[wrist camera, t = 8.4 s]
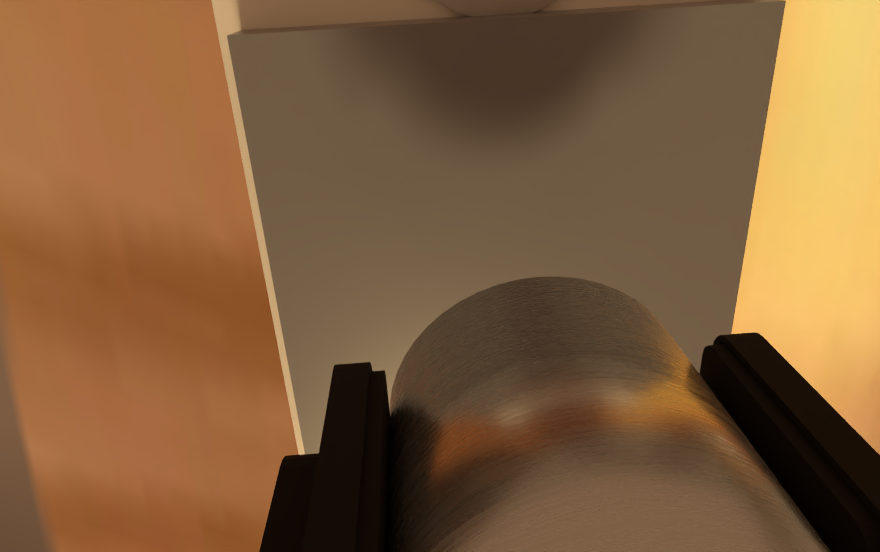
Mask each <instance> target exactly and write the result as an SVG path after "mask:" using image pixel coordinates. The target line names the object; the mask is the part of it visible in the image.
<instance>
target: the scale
mask: <svg viewBox="0 0 880 552" xmlns="http://www.w3.org/2000/svg"><path fill="white" fill-rule="evenodd" d="M785 2H786V1H782V0H212V5H213V10H214V16H215V21H216V26H217V31H218V36H219V42H220V47H221V52H222V57H223V62H224V68H225V73H226V78H227V83H228V88H229V94H230V99H231V104H232V109H233V115H234V120H235V125H236V130H237V135H238V141H239V146H240V151H241V156H242V161H243V167H244V172H245V177H246V182H247V187H248V193H249V198H250V203H251V208H252V213H253V219H254V224H255V229H256V234H257V239H258V245H259V250H260V255H261V260H262V266H263V271H264V276H265V281H266V286H267V292H268V297H269V302H270V307H271V312H272V318H273V323H274V328H275V333H276V338H277V344H278V349H279V354H280V359H281V364H282V370H283V375H284V380H285V385H286V390H287V396H288V401H289V406H290V411H291V416H292V422H293V427H294V432H295V437H296V443H297V448H298V453H299V455H303V454H316V453H319V449H320V443H321V437H322V431H323V425H324V420H325V414H326V408H327V402H328V396H329V390H330V384H331V378H332V373H333V368H334V365H337V364H350V363H363V362H370V363H371V366H372V371H382V370H385V374H386V381H387V391H388V400H389V409H390V399H391V392H392V387H393V383H394V380H395V377H396V373H397V371H398V369H399V367H400V365H401V362H402V360H403V358H404V356H405V355H406V353H407V352H408V350H409V349H410V347H411V346H412V344H413V343H414V341H415V340H416V339H417V338H418V337H419V335H420V334H421V333H422V332H423V331H424V330H425V329H426V327H427V326H428V325H430V324H431V323H432V322H433V321H434V320H435V319H436V318H438V317H439V316H440V315H441V314H442V313H444V312H445V311H446V310H448V309H449V308H451V307H452V306H454V305H455V304H457V303H458V302H460V301H462V300H464V299H466V298H468V297H469V296H471V295H473V294H475V293H477V292H480V291H482V290H485V289H488V288H490V287H493V286H495V285H499V284H502V283H506V282H510V281H514V280H519V279H526V278H534V277H559V276H561V277H570V278H579V279H584V280H589V281H593V282H597V283H601V284H604V285H606V286H609V287H611V288H614V289H617V290H619V291H621V292H623V293H625V294H626V295H628V296H630V297H632V298H634V299H635V300H637V301H638V302H639V303H641V304H642V305H643V306H645V307H646V308H647V309H648V310H650V311H651V312H652V313H653V314H654V315H655V316H656V318H657V319H658V320H659V321H660V322H661V323H662V324H663V325H664V327H665V328H666V329H667V331H668V332H669V334H670V335H671V336H672V338H673V339H674V340H675V342H676V343H677V344H678V346H679V347H680V348H681V350H682V351H683V352H684V354H685V355H686V356H687V358H688V359H689V361H690V362H691V363H692V365H693V366H694V367H695V369H696V370H697V371H698V373H699V374H700V367H701V360H702V354H703V350H704V348H705V347H706V346H708V345H713V342H714V340H715V339H716V337H718V336H719V335H729V334H731V331H732V325H733V319H734V313H735V307H736V301H737V295H738V288H739V282H740V276H741V270H742V264H743V258H744V252H745V246H746V240H747V234H748V227H749V221H750V215H751V209H752V203H753V197H754V191H755V185H756V179H757V172H758V166H759V160H760V154H761V148H762V142H763V136H764V130H765V124H766V118H767V111H768V105H769V99H770V93H771V87H772V81H773V75H774V69H775V63H776V56H777V50H778V44H779V38H780V32H781V26H782V20H783V14H784V8H785Z"/></svg>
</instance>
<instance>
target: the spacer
mask: <svg viewBox="0 0 880 552" xmlns="http://www.w3.org/2000/svg"><path fill="white" fill-rule="evenodd" d="M387 552H831V551H830V550H829V548H828V547H827V546H826V544H825V543H824V542H823V540H822V539H821V538H820V536H819V535H818V534H817V532H816V531H815V530H814V528H813V527H812V525H811V524H810V523H809V521H808V520H807V519H806V517H805V516H804V515H803V513H802V512H801V511H800V509H799V508H798V507H797V505H796V504H795V502H794V501H793V500H792V498H791V497H790V496H789V494H788V493H787V492H786V490H785V489H784V488H783V486H782V485H781V484H780V482H779V481H778V479H777V478H776V477H775V475H774V474H773V473H772V471H771V470H770V469H769V467H768V466H767V465H766V463H765V462H764V461H763V459H762V458H761V457H760V455H759V454H758V452H757V451H756V450H755V448H754V447H753V446H752V444H751V443H750V442H749V440H748V439H747V438H746V436H745V435H744V434H743V432H742V431H741V429H740V428H739V427H738V425H737V424H736V423H735V421H734V420H733V419H732V417H731V416H730V415H729V413H728V412H727V411H726V409H725V408H724V406H723V405H722V404H721V402H720V401H719V400H718V398H717V397H716V396H715V394H714V393H713V392H712V390H711V389H710V388H709V386H708V385H707V384H706V382H705V381H704V379H703V378H702V377H701V375H700V374H699V373H698V371H697V370H696V369H695V367H694V366H693V365H692V363H691V362H690V361H689V359H688V358H687V356H686V355H685V354H684V352H683V351H682V350H681V348H680V347H679V346H678V344H677V343H676V342H675V340H674V339H673V338H672V336H671V335H670V334H669V332H668V331H667V329H666V328H665V327H664V325H663V324H662V323H661V322H660V321H659V320H658V319H657V318H656V316H655V315H654V314H653V313H652V312H651V311H650V310H648V309H647V308H646V307H645V306H643V305H642V304H641V303H639V302H638V301H637V300H635V299H634V298H632V297H630V296H628V295H626V294H625V293H623V292H621V291H619V290H617V289H614V288H611V287H609V286H606V285H604V284H601V283H597V282H593V281H589V280H584V279H579V278H570V277H561V276H559V277H534V278H526V279H519V280H514V281H510V282H506V283H502V284H499V285H495V286H493V287H490V288H488V289H485V290H482V291H480V292H477V293H475V294H473V295H471V296H469V297H468V298H466V299H464V300H462V301H460V302H458V303H457V304H455V305H454V306H452V307H451V308H449V309H448V310H446V311H445V312H444V313H442V314H441V315H440V316H439V317H438V318H436V319H435V320H434V321H433V322H432V323H431V324H430V325H428V326H427V327H426V329H425V330H424V331H423V332H422V333H421V334H420V335H419V337H418V338H417V339H416V340H415V341H414V343H413V344H412V346H411V347H410V349H409V350H408V352H407V353H406V355H405V356H404V358H403V360H402V362H401V365H400V367H399V369H398V371H397V373H396V377H395V380H394V383H393V387H392V392H391V399H390V453H389V495H388V538H387Z"/></svg>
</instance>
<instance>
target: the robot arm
mask: <svg viewBox="0 0 880 552" xmlns="http://www.w3.org/2000/svg"><path fill="white" fill-rule="evenodd" d="M700 375H701V377H702V378H703V379H704V381H705V382H706V384H707V385H708V386H709V388H710V389H711V390H712V392H713V393H714V394H715V396H716V397H717V398H718V400H719V401H720V402H721V404H722V405H723V406H724V408H725V409H726V411H727V412H728V413H729V415H730V416H731V417H732V419H733V420H734V421H735V423H736V424H737V425H738V427H739V428H740V429H741V431H742V432H743V434H744V435H745V436H746V438H747V439H748V440H749V442H750V443H751V444H752V446H753V447H754V448H755V450H756V451H757V452H758V454H759V455H760V457H761V458H762V459H763V461H764V462H765V463H766V465H767V466H768V467H769V469H770V470H771V471H772V473H773V474H774V475H775V477H776V478H777V479H778V481H779V482H780V484H781V485H782V486H783V488H784V489H785V490H786V492H787V493H788V494H789V496H790V497H791V498H792V500H793V501H794V502H795V504H796V505H797V507H798V508H799V509H800V511H801V512H802V513H803V515H804V516H805V517H806V519H807V520H808V521H809V523H810V524H811V525H812V527H813V528H814V530H815V531H816V532H817V534H818V535H819V536H820V538H821V539H822V540H823V542H824V543H825V544H826V546H827V547H828V548H829V550H830V551H831V552H880V455H879V454H878V453H877V452H876V451H875V450H874V449H873V448H872V447H871V446H870V445H869V444H868V443H867V442H866V441H865V440H864V439H863V438H862V437H861V436H860V435H859V434H858V433H857V432H856V431H855V430H854V429H853V428H852V427H851V426H850V425H849V424H848V423H847V422H846V421H845V420H844V419H843V418H842V417H841V416H840V415H839V414H838V412H837V411H836V410H835V409H834V408H833V407H832V406H831V405H830V404H829V403H828V402H827V401H826V400H825V399H824V398H823V397H822V396H821V395H820V394H819V393H818V392H817V391H816V390H815V389H814V388H813V387H812V386H811V385H810V384H809V383H808V382H807V381H806V380H805V379H804V378H803V377H802V376H801V375H800V374H799V373H798V372H797V371H796V370H795V369H794V368H793V367H792V366H791V365H790V364H789V363H788V362H787V361H786V360H785V359H784V358H783V357H782V356H781V355H780V354H779V353H778V352H777V351H776V350H775V349H774V348H773V347H772V346H771V345H770V343H769V342H768V341H767V340H766V339H765V338H764V337H763V336H761V335H760V334H758V333H742V334H729V335H719V336H718V337H716V339H715V340H714V342H713V345H708V346H706V347H705V348H704V350H703V354H702V360H701V367H700ZM389 453H390V409H389V400H388V391H387V381H386V374H385V370H382V371H372V366H371V363H370V362H363V363H350V364H337V365H334V368H333V373H332V378H331V384H330V390H329V396H328V402H327V408H326V414H325V420H324V425H323V431H322V437H321V443H320V449H319V453H316V454H303V455H291V456H285V457H284V458H283V460H282V463H281V466H280V469H279V473H278V477H277V481H276V486H275V490H274V494H273V498H272V502H271V506H270V510H269V514H268V518H267V523H266V527H265V531H264V535H263V539H262V543H261V547H260V551H259V552H387V538H388V495H389Z"/></svg>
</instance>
